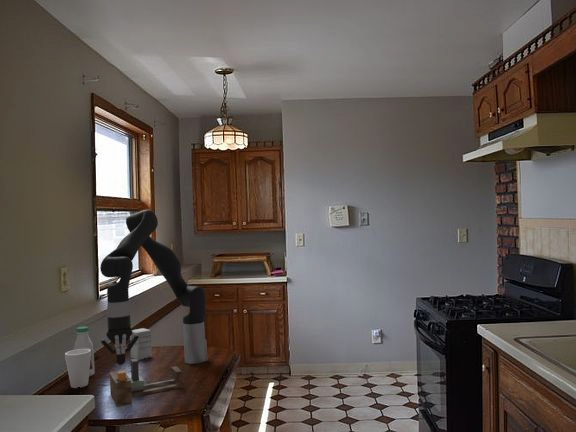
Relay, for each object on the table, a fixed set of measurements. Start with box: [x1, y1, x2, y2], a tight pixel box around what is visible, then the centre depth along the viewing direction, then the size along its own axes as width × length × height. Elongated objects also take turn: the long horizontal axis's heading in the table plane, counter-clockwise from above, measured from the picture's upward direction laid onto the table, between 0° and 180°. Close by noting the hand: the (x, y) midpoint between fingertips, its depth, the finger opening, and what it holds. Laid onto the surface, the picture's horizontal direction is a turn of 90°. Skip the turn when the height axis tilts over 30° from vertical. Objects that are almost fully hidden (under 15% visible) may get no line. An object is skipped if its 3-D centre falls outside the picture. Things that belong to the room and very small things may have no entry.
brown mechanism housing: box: [109, 365, 183, 408], centre depth 183 cm, size 24×15×8 cm, turn 117°
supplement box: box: [129, 327, 153, 361], centre depth 235 cm, size 7×7×13 cm
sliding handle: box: [129, 358, 145, 392], centre depth 184 cm, size 5×7×11 cm
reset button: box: [117, 370, 127, 382], centre depth 175 cm, size 2×2×4 cm
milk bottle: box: [73, 326, 95, 377], centre depth 210 cm, size 8×8×20 cm
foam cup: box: [64, 349, 91, 389], centre depth 197 cm, size 10×9×13 cm
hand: (120, 364), depth 175 cm, fingers closed
